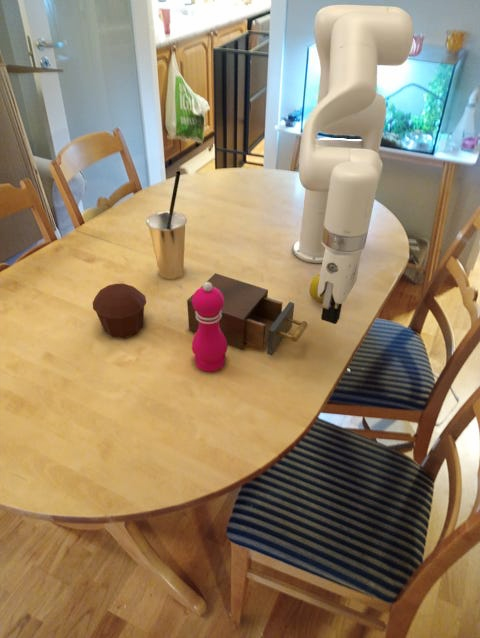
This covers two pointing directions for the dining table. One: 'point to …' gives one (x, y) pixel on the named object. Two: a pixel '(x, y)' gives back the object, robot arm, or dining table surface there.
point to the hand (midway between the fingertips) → (329, 319)
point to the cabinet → (231, 307)
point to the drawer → (271, 325)
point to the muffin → (120, 309)
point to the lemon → (315, 289)
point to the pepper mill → (209, 329)
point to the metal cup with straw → (169, 238)
